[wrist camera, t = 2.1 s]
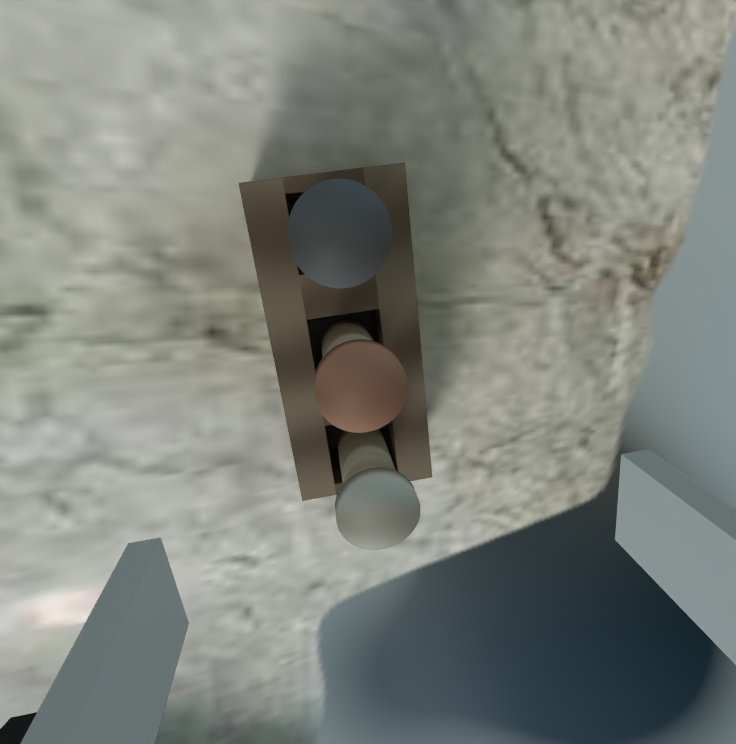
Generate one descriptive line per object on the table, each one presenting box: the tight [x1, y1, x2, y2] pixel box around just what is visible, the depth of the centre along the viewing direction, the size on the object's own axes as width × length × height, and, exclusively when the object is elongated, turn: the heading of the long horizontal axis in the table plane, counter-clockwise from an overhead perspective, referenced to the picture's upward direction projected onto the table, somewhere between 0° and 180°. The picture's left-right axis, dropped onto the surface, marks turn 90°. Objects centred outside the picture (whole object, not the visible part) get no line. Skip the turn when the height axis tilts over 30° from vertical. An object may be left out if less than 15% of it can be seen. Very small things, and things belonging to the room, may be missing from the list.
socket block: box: [239, 163, 432, 501], centre depth 30 cm, size 20×9×5 cm, turn 7°
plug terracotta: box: [314, 320, 408, 433], centre depth 25 cm, size 4×4×8 cm
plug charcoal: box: [287, 178, 393, 288], centre depth 23 cm, size 4×4×8 cm
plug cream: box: [335, 429, 420, 550], centre depth 28 cm, size 4×4×8 cm
